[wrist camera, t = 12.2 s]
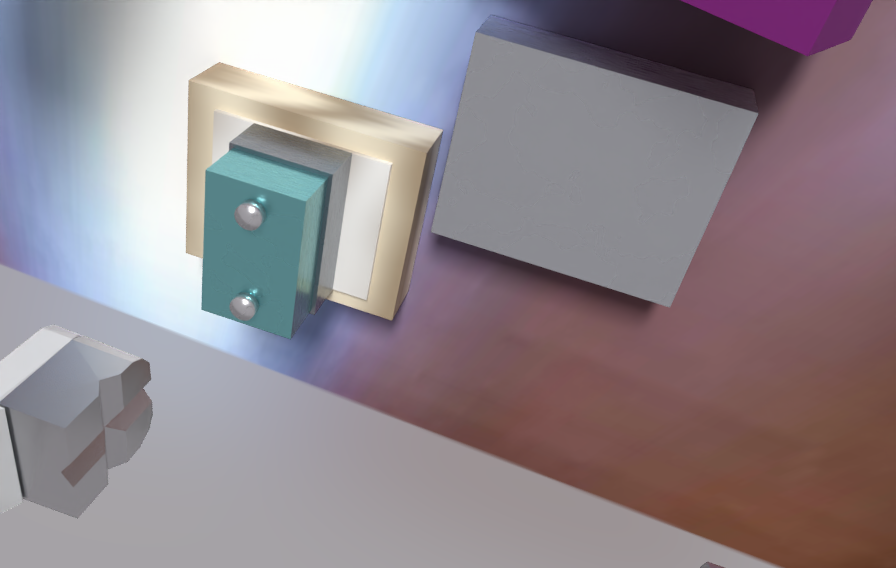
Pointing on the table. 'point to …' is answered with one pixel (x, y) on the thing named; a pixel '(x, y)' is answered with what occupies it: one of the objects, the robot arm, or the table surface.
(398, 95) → the table surface
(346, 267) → the stand
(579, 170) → the stand
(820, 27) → the mounting bracket
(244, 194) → the block
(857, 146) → the table surface
